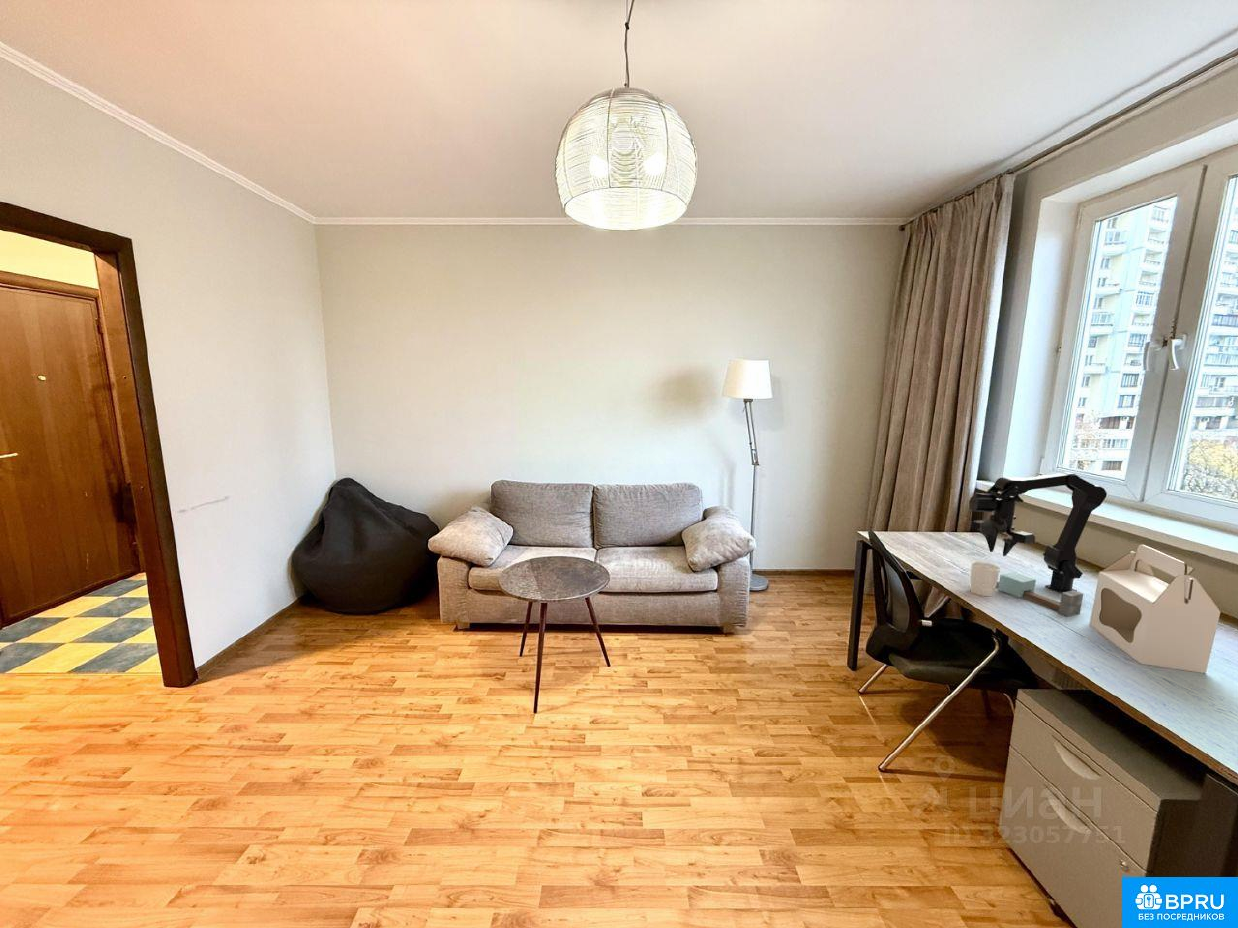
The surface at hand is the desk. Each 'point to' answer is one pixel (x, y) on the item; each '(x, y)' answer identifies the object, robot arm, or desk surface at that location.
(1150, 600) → the gable box
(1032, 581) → the block
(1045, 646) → the desk surface
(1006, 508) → the robot arm
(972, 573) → the white cup
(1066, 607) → the rail
